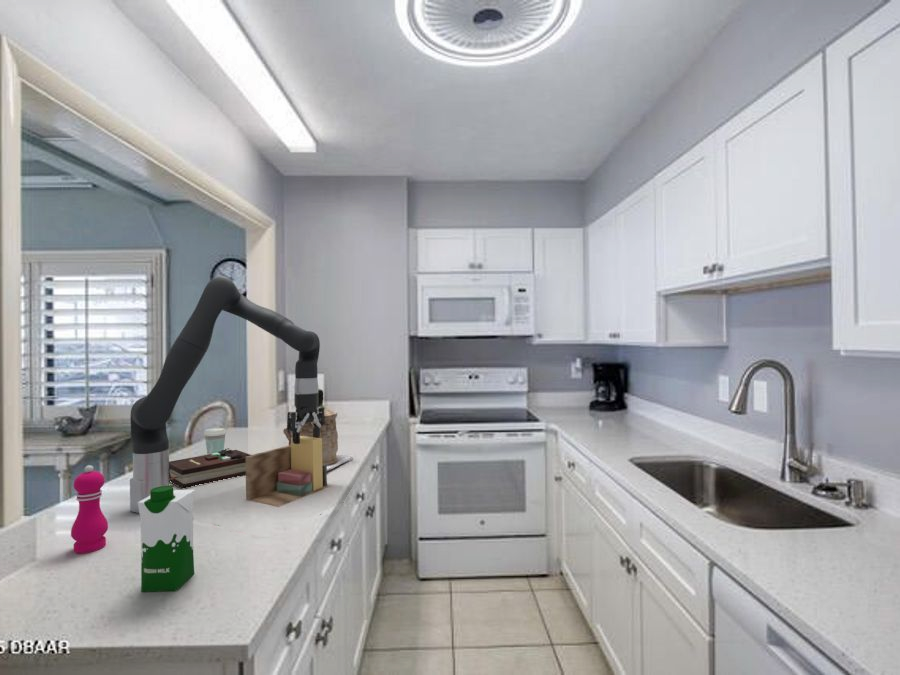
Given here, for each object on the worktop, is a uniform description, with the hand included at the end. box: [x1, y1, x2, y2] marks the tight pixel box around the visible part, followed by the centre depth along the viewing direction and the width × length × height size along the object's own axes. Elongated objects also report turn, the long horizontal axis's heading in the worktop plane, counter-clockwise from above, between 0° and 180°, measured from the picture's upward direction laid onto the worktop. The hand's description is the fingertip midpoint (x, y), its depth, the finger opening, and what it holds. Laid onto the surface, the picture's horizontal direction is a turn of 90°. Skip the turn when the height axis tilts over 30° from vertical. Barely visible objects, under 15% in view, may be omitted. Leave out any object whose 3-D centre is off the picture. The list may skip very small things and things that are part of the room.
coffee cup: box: [203, 427, 227, 455], centre depth 206 cm, size 8×8×12 cm
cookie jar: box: [282, 388, 354, 472], centre depth 191 cm, size 25×25×32 cm
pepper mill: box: [70, 464, 109, 554], centre depth 116 cm, size 7×7×20 cm
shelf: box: [245, 444, 331, 508], centre depth 152 cm, size 22×14×14 cm, turn 151°
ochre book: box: [291, 436, 323, 491], centre depth 158 cm, size 4×10×16 cm, turn 61°
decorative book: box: [169, 448, 251, 489], centre depth 177 cm, size 19×8×30 cm
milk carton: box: [138, 485, 196, 593], centre depth 99 cm, size 9×9×20 cm
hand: (306, 441), depth 157 cm, fingers open, 8 cm apart
